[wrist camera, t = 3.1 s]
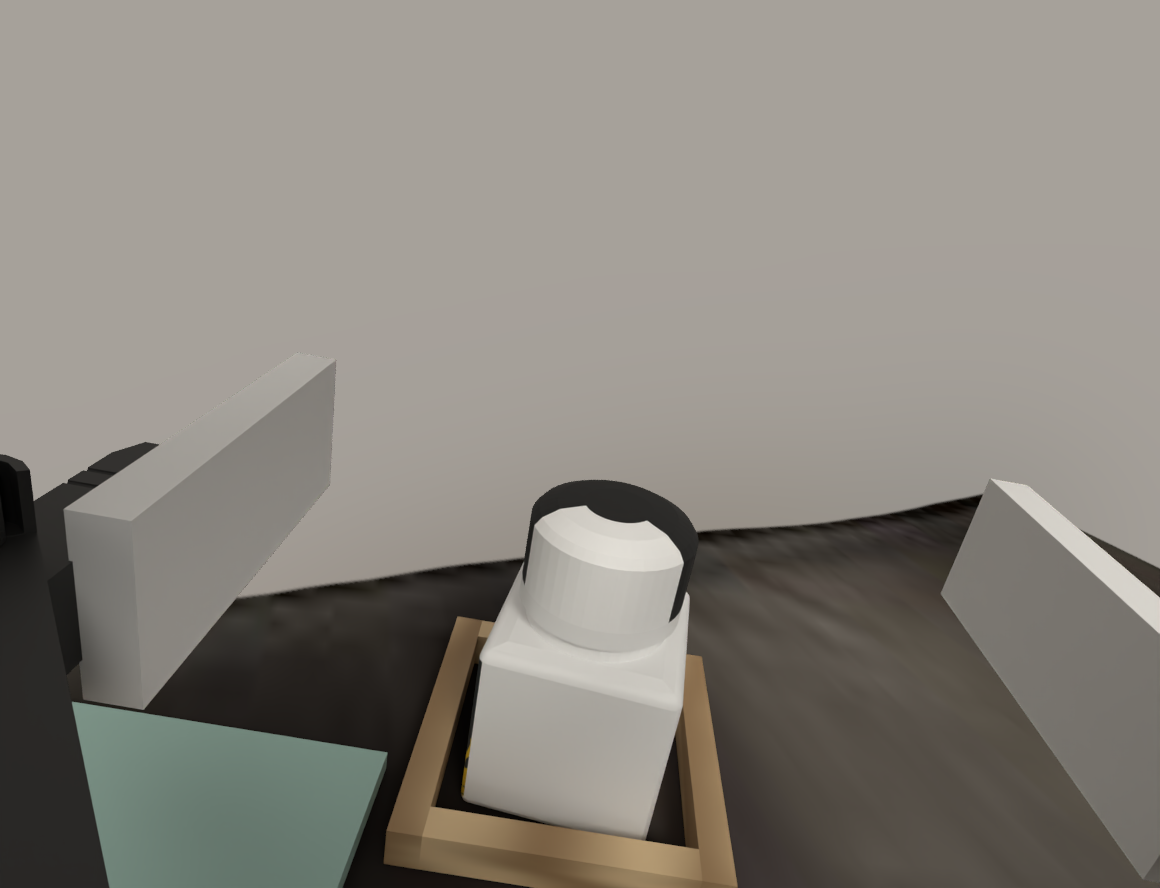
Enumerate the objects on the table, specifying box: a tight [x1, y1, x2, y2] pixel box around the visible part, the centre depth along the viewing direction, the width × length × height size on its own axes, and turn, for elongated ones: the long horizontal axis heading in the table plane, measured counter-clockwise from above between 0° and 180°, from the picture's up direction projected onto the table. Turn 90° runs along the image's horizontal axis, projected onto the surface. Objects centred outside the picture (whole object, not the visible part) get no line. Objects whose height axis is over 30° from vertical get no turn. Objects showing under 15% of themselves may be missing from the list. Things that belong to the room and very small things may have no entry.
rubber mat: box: [72, 702, 388, 888], centre depth 24 cm, size 13×10×1 cm
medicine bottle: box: [461, 480, 698, 841], centre depth 29 cm, size 7×7×12 cm
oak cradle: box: [384, 617, 738, 888], centre depth 31 cm, size 12×12×2 cm
